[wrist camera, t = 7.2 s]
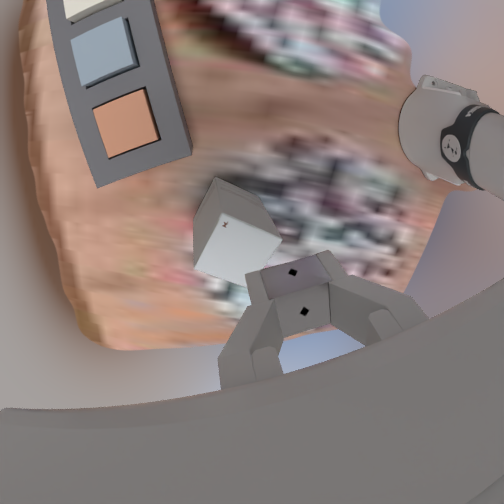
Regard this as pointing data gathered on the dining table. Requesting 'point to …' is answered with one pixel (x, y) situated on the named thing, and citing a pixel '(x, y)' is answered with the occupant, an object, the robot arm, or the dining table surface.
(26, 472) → the robot arm
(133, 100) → the terracotta key
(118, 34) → the slate key
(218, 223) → the supplement box
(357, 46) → the dining table surface
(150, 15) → the key console
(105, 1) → the cream key
